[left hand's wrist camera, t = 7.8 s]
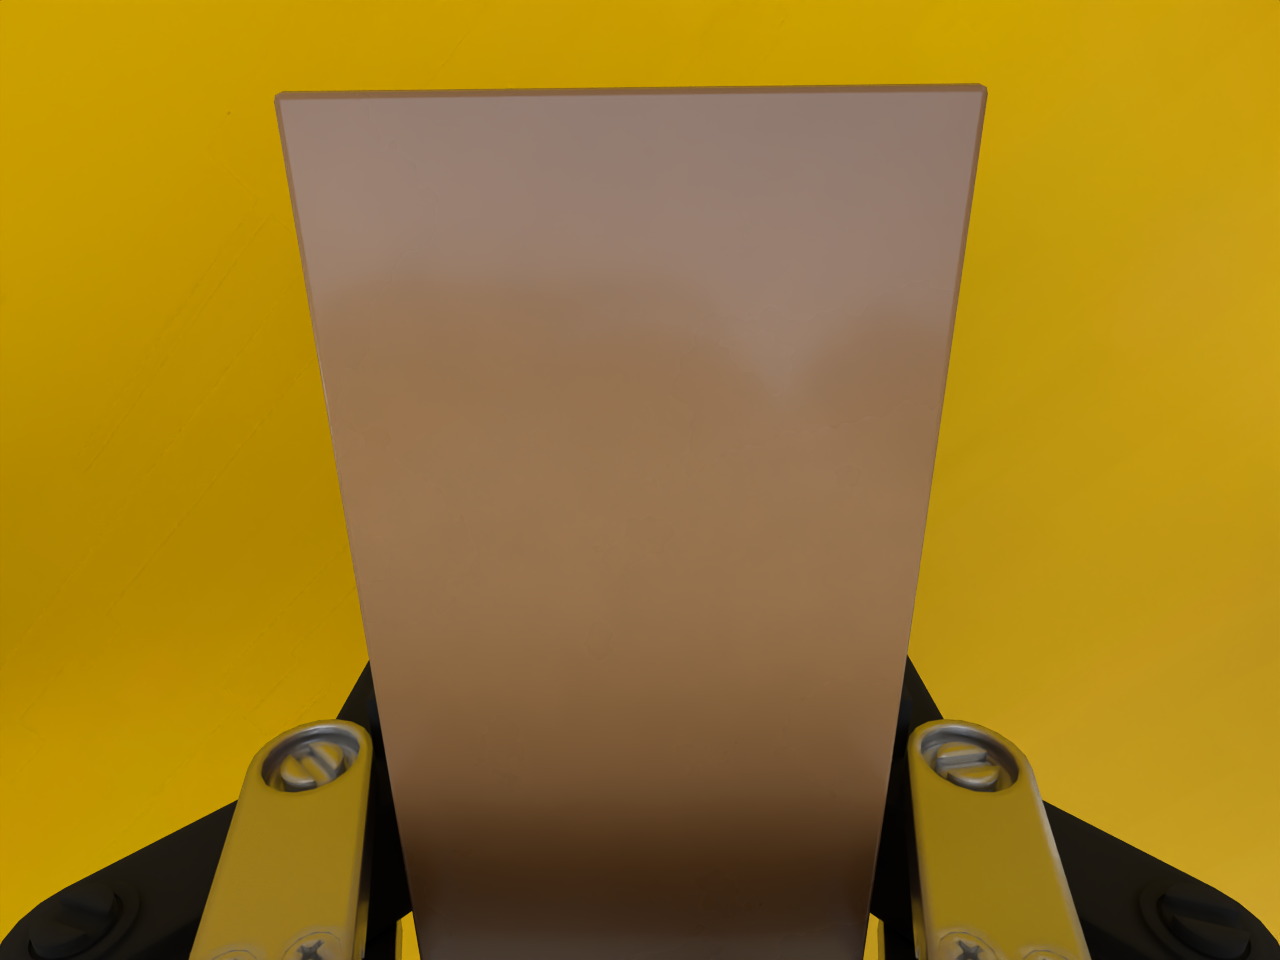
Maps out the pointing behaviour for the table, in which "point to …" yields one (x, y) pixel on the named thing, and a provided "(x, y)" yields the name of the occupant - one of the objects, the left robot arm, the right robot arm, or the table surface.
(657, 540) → the post
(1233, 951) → the left robot arm
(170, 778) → the table surface
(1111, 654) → the table surface
